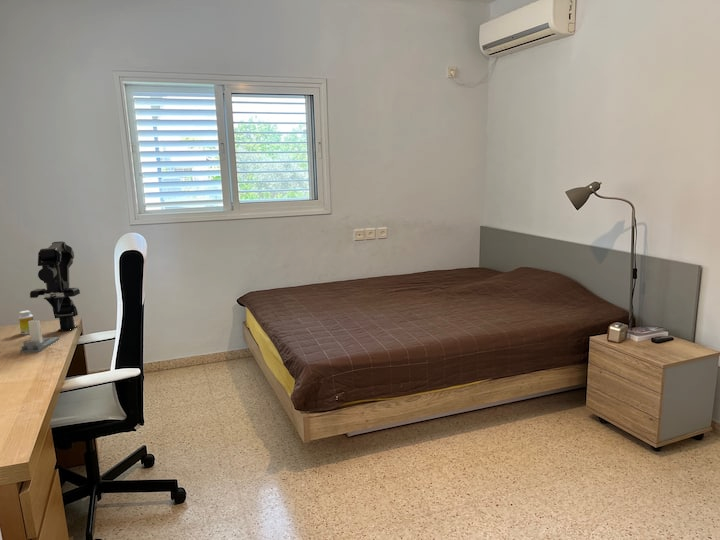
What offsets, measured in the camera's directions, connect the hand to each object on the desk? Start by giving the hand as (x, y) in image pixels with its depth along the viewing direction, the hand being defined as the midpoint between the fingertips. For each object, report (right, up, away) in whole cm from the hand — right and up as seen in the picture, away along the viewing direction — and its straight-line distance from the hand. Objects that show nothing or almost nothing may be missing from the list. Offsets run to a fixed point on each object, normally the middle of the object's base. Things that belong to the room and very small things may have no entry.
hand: (57, 311), depth 221 cm
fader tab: (-2, -13, -11) cm, 17 cm away
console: (-2, -14, -8) cm, 17 cm away
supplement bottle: (-20, -11, +11) cm, 25 cm away
